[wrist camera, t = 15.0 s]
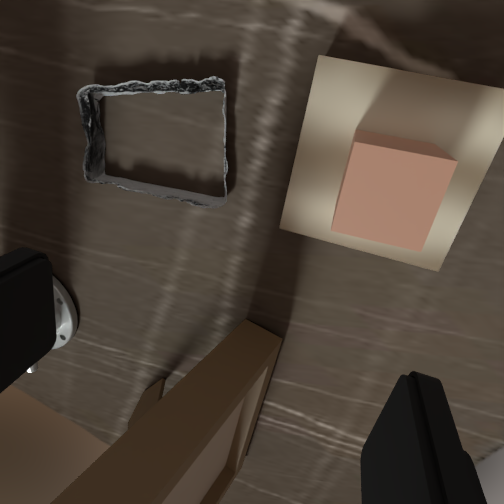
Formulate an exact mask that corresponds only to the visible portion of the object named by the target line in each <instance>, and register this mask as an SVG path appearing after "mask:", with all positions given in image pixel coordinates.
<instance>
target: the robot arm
mask: <svg viewBox="0 0 504 504" xmlns="http://www.w3.org/2000/svg"><path fill="white" fill-rule="evenodd" d="M77 324H78V321H77V313H76V309H75V306H74V304H73V301H72V299H71V297H70V295H69V294H68V292H67V291H66V289H65V288H64V287H63V285H62V284H61V283H60V282H59V281H58V280H57V279H56V278H55V277H54V276H53V275H52V264H51V262H50V261H49V260H48V257H47V256H46V254H44V253H41V252H38V251H35V250H32V249H29V248H24V247H22V248H18V249H16V250H14V251H12V252H10V253H8V254H5V255H3V256H1V257H0V393H1V392H2V391H4V390H5V389H6V388H7V387H8V386H9V385H11V384H12V383H13V382H14V381H15V380H16V379H18V378H19V377H20V376H21V375H22V374H23V373H25V372H26V371H27V372H30V373H31V372H34V371H36V370H37V369H38V362H37V361H39V360H40V359H41V358H42V357H43V356H44V355H46V354H47V353H48V352H49V351H50V350H51V349H56V348H59V347H62V346H64V345H65V344H66V343H67V342H68V341H70V340H71V339H72V337H73V336H74V335H75V332H76V330H77ZM361 491H362V504H487V502H486V499H485V496H484V493H483V490H482V487H481V484H480V481H479V478H478V475H477V472H476V469H475V466H474V463H473V461H472V459H471V457H470V455H469V454H468V453H467V452H466V451H464V450H463V448H462V445H461V442H460V439H459V436H458V433H457V429H456V426H455V423H454V420H453V417H452V414H451V411H450V408H449V405H448V402H447V398H446V395H445V392H444V389H443V386H442V383H441V381H440V380H439V379H437V378H434V377H431V376H428V375H425V374H421V373H418V372H415V371H412V372H411V373H410V374H409V375H408V376H407V375H401V376H400V378H399V379H398V381H397V383H396V385H395V387H394V389H393V391H392V393H391V395H390V396H389V398H388V400H387V402H386V404H385V406H384V408H383V410H382V412H381V414H380V416H379V417H378V419H377V421H376V423H375V425H374V427H373V429H372V431H371V433H370V435H369V437H368V439H367V440H366V442H365V444H364V446H363V449H362V453H361Z"/></svg>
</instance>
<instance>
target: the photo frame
mask: <svg viewBox="0 0 504 504" xmlns="http://www.w3.org/2000/svg"><path fill="white" fill-rule="evenodd" d="M281 343H282V338H280V337H278V336H276V335H274V334H272V333H271V332H269V331H267V330H265V329H263V328H261V327H260V326H258V325H256V324H254V323H252V322H250V321H248V320H247V319H245V320H244V321H243V322H242V323H241V324H240V325H239V326H237V327H236V328H235V329H234V330H233V331H232V332H231V333H230V334H229V335H228V336H227V337H226V338H225V339H224V340H223V341H222V342H221V343H220V344H218V345H217V346H216V347H215V348H214V349H213V350H212V351H211V352H210V353H209V354H208V355H207V356H206V357H205V358H204V359H203V360H202V361H200V362H199V363H198V364H197V365H196V366H195V367H194V368H193V369H192V370H191V371H190V372H189V373H188V374H187V375H186V376H185V377H184V378H183V379H181V380H180V381H179V382H178V383H177V384H176V385H175V386H174V387H173V388H172V389H171V390H170V391H169V392H168V393H167V394H166V395H165V396H164V397H162V395H163V390H164V385H165V379H163V378H162V379H161V380H159V381H158V382H157V383H155V384H154V385H152V386H151V387H150V388H148V389H147V390H145V391H144V392H143V394H142V396H141V398H140V400H139V402H138V404H137V406H136V408H135V410H134V412H133V414H132V416H131V418H130V420H129V422H128V431H127V432H125V433H124V434H123V435H122V436H121V437H120V438H119V439H118V440H117V441H116V442H115V443H114V444H113V445H112V446H111V447H110V448H109V449H108V450H107V451H105V452H104V453H103V454H102V455H101V456H100V457H99V458H98V459H97V460H96V461H95V462H94V463H93V464H92V465H91V466H90V467H89V468H87V470H86V471H84V472H83V473H82V474H81V475H80V476H79V477H78V478H77V479H76V480H75V481H74V482H73V483H72V484H71V485H69V487H67V488H66V489H65V490H64V491H63V492H62V493H61V494H60V495H59V496H58V497H57V498H56V499H55V500H54V501H53V502H52V503H51V504H219V502H220V501H221V499H222V498H223V496H224V495H225V493H226V491H227V490H228V488H229V487H230V485H231V483H232V482H233V480H234V479H235V477H236V475H237V474H238V472H239V471H240V469H241V467H242V465H243V462H244V458H245V455H246V452H247V449H248V446H249V443H250V440H251V437H252V433H253V430H254V427H255V424H256V421H257V418H258V415H259V411H260V408H261V405H262V402H263V399H264V396H265V393H266V390H267V386H268V383H269V380H270V377H271V374H272V371H273V368H274V365H275V361H276V358H277V355H278V352H279V349H280V346H281Z"/></svg>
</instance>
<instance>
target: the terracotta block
mask: <svg viewBox="0 0 504 504" xmlns="http://www.w3.org/2000/svg"><path fill="white" fill-rule="evenodd" d="M457 163H458V161H457V160H456V159H454V158H453V157H452V156H450V155H449V154H448V153H446V152H445V151H444V150H442V149H441V148H439V147H438V146H437V145H435V144H432V143H427V142H421V141H416V140H410V139H405V138H400V137H394V136H389V135H383V134H378V133H372V132H367V131H362V130H356V129H355V133H354V136H353V140H352V144H351V148H350V151H349V155H348V159H347V163H346V166H345V170H344V174H343V178H342V181H341V185H340V189H339V193H338V196H337V200H336V205H335V210H334V216H333V221H332V226H331V231H333V232H338V233H342V234H346V235H350V236H355V237H359V238H363V239H367V240H372V241H376V242H380V243H384V244H389V245H393V246H397V247H401V248H405V249H410V250H414V251H418V252H421V251H422V249H423V246H424V244H425V241H426V239H427V237H428V234H429V232H430V229H431V227H432V224H433V222H434V219H435V217H436V215H437V212H438V210H439V207H440V205H441V202H442V200H443V197H444V195H445V193H446V190H447V188H448V185H449V183H450V180H451V178H452V175H453V173H454V171H455V168H456V166H457Z"/></svg>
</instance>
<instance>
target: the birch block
mask: <svg viewBox="0 0 504 504" xmlns="http://www.w3.org/2000/svg"><path fill="white" fill-rule="evenodd" d="M355 129H356V130H362V131H367V132H372V133H378V134H383V135H389V136H394V137H400V138H405V139H410V140H416V141H421V142H427V143H432V144H435V145H437V146H438V147H439V148H441V149H442V150H444V151H445V152H446V153H448V154H449V155H450V156H452V157H453V158H454V159H456V160H457V161H458V163H457V166H456V168H455V171H454V173H453V175H452V178H451V180H450V183H449V185H448V188H447V190H446V193H445V195H444V197H443V200H442V202H441V205H440V207H439V210H438V212H437V215H436V217H435V219H434V222H433V224H432V227H431V229H430V232H429V234H428V237H427V239H426V241H425V244H424V246H423V249H422V251H421V252H418V251H414V250H410V249H405V248H401V247H397V246H393V245H389V244H384V243H380V242H376V241H372V240H367V239H363V238H359V237H355V236H350V235H346V234H342V233H338V232H333V231H331V226H332V221H333V216H334V210H335V205H336V200H337V196H338V193H339V189H340V185H341V181H342V178H343V174H344V170H345V166H346V163H347V159H348V155H349V151H350V148H351V144H352V140H353V136H354V133H355ZM503 137H504V89H501V88H496V87H490V86H485V85H479V84H474V83H469V82H463V81H458V80H452V79H447V78H442V77H436V76H431V75H425V74H420V73H414V72H409V71H404V70H398V69H393V68H387V67H382V66H376V65H371V64H366V63H360V62H355V61H349V60H344V59H339V58H333V57H328V56H322V55H319V56H318V60H317V65H316V69H315V73H314V78H313V82H312V86H311V91H310V95H309V100H308V104H307V108H306V113H305V117H304V121H303V126H302V130H301V135H300V139H299V143H298V148H297V152H296V156H295V161H294V165H293V169H292V174H291V178H290V183H289V187H288V191H287V196H286V200H285V204H284V209H283V213H282V218H281V222H280V226H279V228H280V229H284V230H287V231H291V232H295V233H298V234H302V235H306V236H309V237H313V238H317V239H320V240H324V241H328V242H331V243H335V244H339V245H342V246H346V247H350V248H353V249H357V250H361V251H364V252H368V253H372V254H375V255H379V256H383V257H386V258H390V259H394V260H397V261H401V262H405V263H408V264H412V265H416V266H419V267H423V268H427V269H430V270H434V271H439V269H440V267H441V265H442V263H443V261H444V259H445V257H446V255H447V253H448V251H449V249H450V247H451V244H452V242H453V240H454V238H455V236H456V234H457V232H458V230H459V228H460V226H461V224H462V222H463V220H464V218H465V216H466V214H467V211H468V209H469V207H470V205H471V203H472V201H473V199H474V197H475V195H476V193H477V191H478V189H479V187H480V185H481V183H482V181H483V178H484V176H485V174H486V172H487V170H488V168H489V166H490V164H491V162H492V160H493V158H494V156H495V154H496V152H497V150H498V147H499V145H500V143H501V141H502V139H503Z"/></svg>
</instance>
